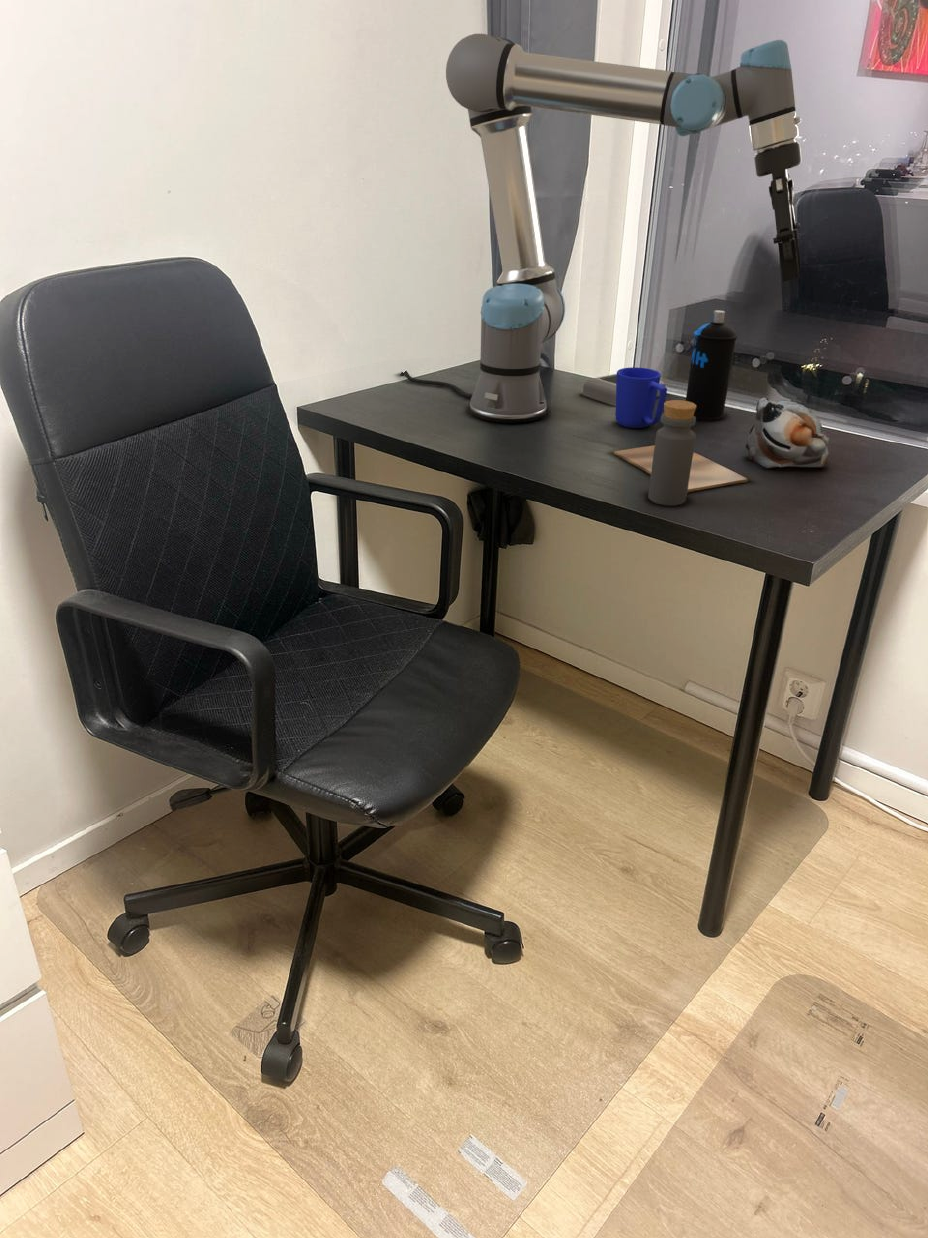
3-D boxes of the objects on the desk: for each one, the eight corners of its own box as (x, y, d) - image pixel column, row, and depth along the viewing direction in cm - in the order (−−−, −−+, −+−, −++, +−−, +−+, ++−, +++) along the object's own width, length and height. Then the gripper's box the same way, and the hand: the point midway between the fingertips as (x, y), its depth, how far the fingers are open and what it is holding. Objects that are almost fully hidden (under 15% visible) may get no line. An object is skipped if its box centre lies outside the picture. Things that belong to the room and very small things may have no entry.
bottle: (643, 492, 140) (655, 398, 132) (679, 491, 140) (693, 398, 133) (653, 506, 135) (666, 410, 127) (690, 505, 135) (706, 409, 128)
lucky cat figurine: (841, 464, 152) (861, 405, 140) (793, 502, 149) (809, 445, 138) (774, 419, 159) (788, 360, 148) (727, 454, 157) (737, 397, 145)
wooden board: (613, 453, 155) (614, 451, 155) (673, 444, 160) (674, 442, 160) (683, 492, 140) (684, 490, 139) (747, 481, 144) (748, 478, 144)
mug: (641, 439, 162) (647, 385, 157) (603, 421, 172) (608, 369, 167) (675, 433, 166) (683, 380, 161) (636, 416, 175) (642, 365, 170)
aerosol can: (720, 409, 180) (737, 307, 170) (727, 421, 173) (745, 316, 163) (680, 407, 181) (694, 306, 171) (684, 419, 173) (700, 314, 163)
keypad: (666, 377, 187) (616, 388, 179) (664, 394, 189) (614, 405, 181) (633, 368, 193) (584, 377, 186) (632, 384, 195) (582, 395, 187)
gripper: (797, 140, 139) (813, 278, 147) (800, 137, 159) (815, 258, 168) (748, 156, 142) (767, 290, 151) (757, 150, 163) (773, 268, 171)
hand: (792, 273), depth 159 cm, fingers open, 13 cm apart
